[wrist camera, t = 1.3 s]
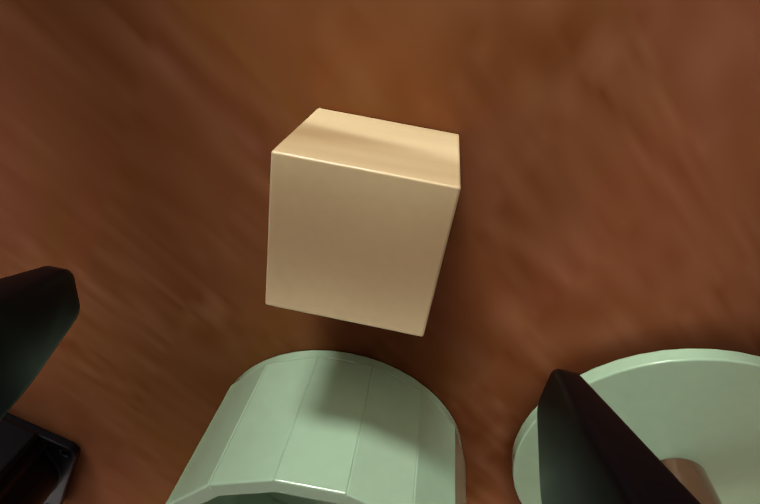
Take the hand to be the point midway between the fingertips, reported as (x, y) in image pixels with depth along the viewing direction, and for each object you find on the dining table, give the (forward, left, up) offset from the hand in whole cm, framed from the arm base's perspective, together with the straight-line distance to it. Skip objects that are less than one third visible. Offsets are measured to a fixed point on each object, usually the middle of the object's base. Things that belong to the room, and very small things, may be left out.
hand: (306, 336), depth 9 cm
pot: (-12, -5, -8) cm, 15 cm away
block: (0, 0, -8) cm, 8 cm away
